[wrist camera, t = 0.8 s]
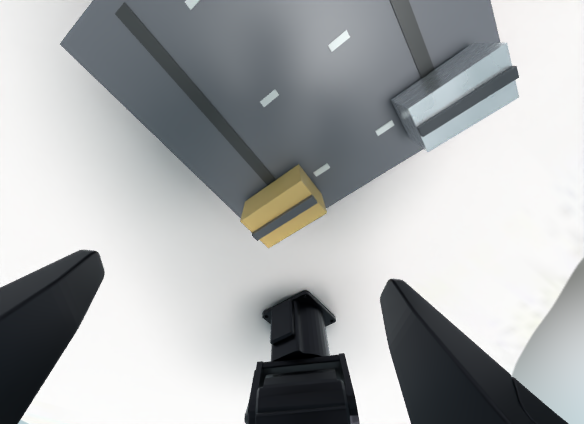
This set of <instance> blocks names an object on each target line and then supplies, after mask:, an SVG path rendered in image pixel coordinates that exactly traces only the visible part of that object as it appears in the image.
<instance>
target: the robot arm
mask: <svg viewBox="0 0 584 424" xmlns="http://www.w3.org/2000/svg"><path fill="white" fill-rule="evenodd" d="M103 278H104V268H103V265H102V261H101V258H100V255H99V253H98V252H97V251H92V250H79V251H77V252H75V253H73V254H71V255H68V256H66V257H64V258H62V259H60V260H58V261H56V262H54V263H52V264H49V265H47V266H45V267H43V268H41V269H39V270H37V271H35V272H33V273H30V274H28V275H26V276H24V277H22V278H20V279H18V280H16V281H13V282H11V283H9V284H7V285H5V286H3V287H1V288H0V424H18V423H19V421H20V419H21V418H22V416H23V415H24V413H25V412H26V410H27V408H28V407H29V405H30V404H31V402H32V401H33V399H34V397H35V396H36V394H37V393H38V391H39V390H40V388H41V386H42V385H43V383H44V382H45V380H46V379H47V377H48V375H49V374H50V372H51V371H52V369H53V368H54V366H55V364H56V363H57V361H58V360H59V358H60V357H61V355H62V353H63V352H64V350H65V349H66V347H67V346H68V344H69V342H70V341H71V339H72V338H73V336H74V334H75V333H76V331H77V329H78V328H79V326H80V324H81V322H82V320H83V318H84V316H85V314H86V312H87V310H88V308H89V306H90V304H91V302H92V300H93V298H94V296H95V294H96V292H97V290H98V288H99V286H100V284H101V282H102V280H103ZM305 295H306V296H305ZM380 303H381V309H382V314H383V319H384V325H385V330H386V335H387V341H388V345H389V349H390V353H391V357H392V360H393V363H394V367H395V370H396V374H397V377H398V380H399V384H400V387H401V391H402V394H403V397H404V401H405V404H406V408H407V411H408V415H409V418H410V421H411V424H568V423H567V422H566V421H564V420H563V419H562V418H561V417H560V416H558V415H557V414H556V413H555V412H553V411H552V410H551V409H550V408H549V407H548V406H546V405H545V404H544V403H543V402H542V401H541V400H539V399H538V398H537V397H536V396H535V395H533V394H532V393H531V392H530V391H529V390H528V389H527V388H525V387H524V386H523V385H522V384H521V383H519V381H517V380H516V379H515V378H514V377H511V375H510V374H509V373H508V372H507V371H506V370H505V369H504V368H503V367H501V366H500V365H499V364H498V363H497V362H496V361H495V360H493V359H492V358H491V357H490V356H489V355H488V354H487V353H485V352H484V351H483V350H482V349H481V348H480V347H479V346H477V345H476V344H475V343H474V342H473V341H472V340H471V339H469V338H468V337H467V336H466V335H465V334H464V333H463V332H461V331H460V330H459V329H458V328H457V327H456V326H455V325H453V324H452V323H451V322H450V321H449V320H448V319H447V318H445V317H444V316H443V315H442V314H441V313H440V312H439V311H437V310H436V309H435V308H434V307H433V306H432V305H431V304H429V303H428V302H427V301H426V300H425V299H424V298H423V297H421V296H420V295H419V294H418V293H417V292H416V291H415V290H413V289H412V288H411V287H410V286H409V285H408V284H407V283H405V282H404V281H403V280H400V279H390V280H388V282H387V284H386V286H385V288H384V290H383V292H382V294H381V297H380ZM262 317H263V318H264V319H265V320H266V321H268V322H269V323H270V324H271V335H270V343H271V344H272V350H271V362H263V361H261V362H257V367H256V370H255V371H254V377H253V382H252V388H251V393H250V399H249V404H248V407H247V410H246V413H245V423H246V424H359V417H358V411H357V405H356V400H355V395H354V391H353V387H352V383H351V379H350V375H349V371H348V366H347V362H346V358H345V354H344V353H341V354H339V355H331V356H330V354H329V347H328V341H327V334H326V328H325V327H326V326H328V325H330V324H332V323H334V322H335V321H336V319H335V316H334V315H333V314H332V313H331V312H330V311H329V310H327V309H326V308H325V307H324V306H323V305H322V304H321V303H320V302H319V301H318V300H317V299H316V298H315V297H314V296H313V295H311V294H310V293H309V292H308V291H303V292H301V293H299V294H297V295H295V296H293V297H291V298H289V299H287V300H285V301H283V302H282V303H280V304H278V305H276V306H274V307H272V308H270V309H268V310H266V311H264V312H263V313H262Z"/></svg>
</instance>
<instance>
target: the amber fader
mask: <svg viewBox="0 0 584 424" xmlns="http://www.w3.org/2000/svg"><path fill="white" fill-rule="evenodd" d="M326 213H327V211H326V208H325V204H324V200H323V196H322V194H321V192H320V191H319V190H318V189H317V187H316V186H315V185H314V183H313V182H312V181H311V179H310V178H309V177H308V176H307V174H306V173H305V172H304V170H303V169H302V168H301V166H300V165H299V164H298V165H297V166H295V167H294V168H293V169H291V170H290V171H288V172H287V173H285V174H284V175H283V176H281V177H280V178H278V179H277V180H275V181H274V182H272V183H271V184H270V185H268V186H267V187H265V188H264V189H262V190H261V191H260V192H258V193H257V194H255V195H254V196H252V197H251V198H249V199H248V200H247V201H245V203H244V208H243V212H242V216H241V221H240V222H241V223H243V224H244V225H245V226H246V227H247V228H248V229H249V230H250V231H251V232H252V236H253V237H254V238H255V239H256V240H257V241H258V240H260V241H261V242H262V243H263V244H265V245H266V246H267V247H268V248H270V247H272V246H273V245H275V244H277V243H278V242H280V241H282V240H283V239H285V238H286V237H288V236H290V235H291V234H293V233H295V232H296V231H298V230H300V229H301V228H303V227H305V226H306V225H308V224H310V223H311V222H313V221H315V220H316V219H318V218H320V217H321V216H323V215H325V214H326Z"/></svg>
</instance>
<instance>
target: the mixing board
mask: <svg viewBox="0 0 584 424" xmlns="http://www.w3.org/2000/svg"><path fill="white" fill-rule="evenodd" d="M472 43H500V39H499V35H498V31H497V27H496V22H495V18H494V14H493V10H492V5H491V1H490V0H93V1H92V3H91V4H90V5H89V7H88V8H87V9H86V10H85V12H84V13H83V14H82V16H81V17H80V18H79V20H78V21H77V22H76V23H75V25H74V26H73V27H72V29H71V30H70V31H69V33H68V34H67V35H66V37H65V38H64V39H63V40H62V42H61V43H60V45H61V46H62V47H63V48H64V49H65V50H66V51H68V52H69V53H70V54H71V55H72V56H73V57H74V58H75V59H76V60H77V61H78V62H79V63H80V64H81V65H82V66H83V67H84V68H85V69H86V70H87V71H88V72H89V73H90V74H91V75H92V76H93V77H95V78H96V79H97V80H98V81H99V82H100V83H101V84H102V85H103V86H104V87H105V88H106V89H107V90H108V91H109V92H110V93H111V94H112V95H113V96H114V97H115V98H116V99H117V100H118V101H119V102H120V103H122V104H123V105H124V106H125V107H126V108H127V109H128V110H129V111H130V112H131V113H132V114H133V115H134V116H135V117H136V118H137V119H138V120H139V121H140V122H141V123H142V124H143V125H144V126H145V127H146V128H147V129H149V130H150V131H151V132H152V133H153V134H154V135H155V136H156V137H157V138H158V139H159V140H160V141H161V142H162V143H163V144H164V145H165V146H166V147H167V148H168V149H169V150H170V151H171V152H172V153H173V154H174V155H176V156H177V157H178V158H179V159H180V160H181V161H182V162H183V163H184V164H185V165H186V166H187V167H188V168H189V169H190V170H191V171H192V172H193V173H194V174H195V175H196V176H197V177H198V178H199V179H200V180H201V181H203V182H204V183H205V184H206V185H207V186H208V187H209V188H210V189H211V190H212V191H213V192H214V193H215V194H216V195H217V196H218V197H219V198H220V199H221V200H222V201H223V202H224V203H225V204H226V205H227V206H228V207H230V208H231V209H232V210H233V211H234V212H235V213H236V214H237V215H238V216H239V217H240V218H241V216H242V212H243V208H244V203H245V201H247V200H248V199H249V198H251V197H252V196H254V195H255V194H257V193H258V192H260V191H261V190H262V189H264V188H265V187H267V186H268V185H270V184H271V183H272V182H274V181H275V180H277V179H278V178H280V177H281V176H283V175H284V174H285V173H287V172H288V171H290V170H291V169H293V168H294V167H295V166H297V165H298V164H299V165H300V166H301V168H302V169H303V170H304V172H305V173H306V174H307V176H308V177H309V178H310V179H311V181H312V182H313V183H314V185H315V186H316V187H317V189H318V190H319V191H320V192H321V194H322V196H323V200H324V204H325V208H327V207H329V206H331V205H332V204H334V203H336V202H337V201H339V200H340V199H342V198H344V197H345V196H347V195H349V194H350V193H352V192H354V191H355V190H357V189H358V188H360V187H362V186H363V185H365V184H367V183H368V182H370V181H372V180H373V179H375V178H376V177H378V176H380V175H381V174H383V173H385V172H386V171H388V170H390V169H391V168H393V167H395V166H396V165H398V164H399V163H401V162H403V161H404V160H406V159H408V158H409V157H411V156H413V155H414V154H416V153H417V152H419V151H421V150H422V149H423V148H422V147H420V146H419V145H418V144H416V143H415V142H414V141H412V140H411V139H410V138H409V136H408V134H407V132H406V130H405V128H404V126H403V124H402V122H401V120H400V118H399V116H398V114H397V112H396V109H395V107H394V105H393V103H392V101H391V100H392V99H393V98H395V97H396V96H397V95H399V94H400V93H402V92H403V91H405V90H406V89H408V88H409V87H410V86H412V85H413V84H415V83H416V82H418V81H419V80H420V79H422V78H423V77H425V76H426V75H428V74H429V73H431V72H432V71H433V70H435V69H436V68H438V67H439V66H441V65H442V64H443V63H445V62H446V61H448V60H449V59H451V58H452V57H454V56H455V55H456V54H458V53H459V52H461V51H462V50H464V49H465V48H466V47H468V46H469V45H471V44H472Z"/></svg>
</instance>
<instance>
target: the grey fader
mask: <svg viewBox="0 0 584 424" xmlns="http://www.w3.org/2000/svg"><path fill="white" fill-rule="evenodd" d="M517 78H519V75H518V71H517V66H512V64H511V59H510V55H509V50H508V46H507V43H472V44H471V45H469V46H468V47H466V48H465V49H464V50H462V51H461V52H459V53H458V54H456V55H455V56H454V57H452V58H451V59H449V60H448V61H446V62H445V63H443V64H442V65H441V66H439V67H438V68H436V69H435V70H433V71H432V72H431V73H429V74H428V75H426V76H425V77H423V78H422V79H420V80H419V81H418V82H416V83H415V84H413V85H412V86H410V87H409V88H408V89H406V90H405V91H403V92H402V93H400V94H399V95H397V96H396V97H395V98H393V99H392V100H391V101H392V103H393V105H394V107H395V109H396V112H397V114H398V116H399V118H400V120H401V122H402V124H403V126H404V128H405V130H406V132H407V134H408V136H409V138H410V139H411V140H412V141H414V142H415V143H416V144H418V145H419V146H420V147H422V148H423V149H424V150H426V151H427V152H429V151H431V150H432V149H434V148H436V147H437V146H439V145H441V144H442V143H444V142H446V141H447V140H449V139H451V138H452V137H454V136H456V135H457V134H459V133H461V132H462V131H464V130H466V129H467V128H469V127H471V126H472V125H474V124H476V123H477V122H479V121H481V120H482V119H484V118H486V117H487V116H489V115H490V114H492V113H494V112H495V111H497V110H499V109H500V108H502V107H504V106H505V105H507V104H509V103H510V102H512V101H514V100H515V99H517V98H519V95H518V91H517V86H516V82H515V80H516V79H517Z"/></svg>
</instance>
